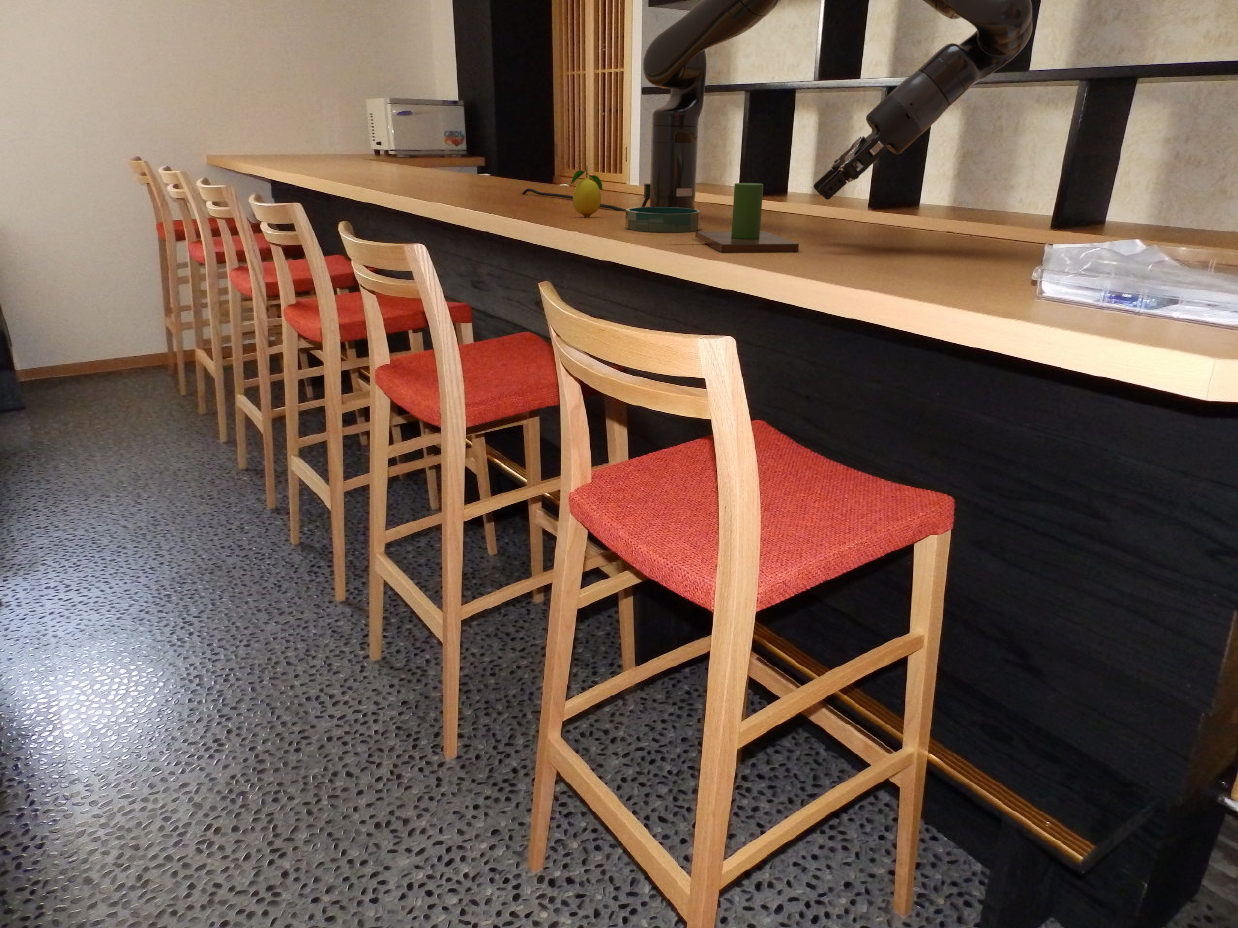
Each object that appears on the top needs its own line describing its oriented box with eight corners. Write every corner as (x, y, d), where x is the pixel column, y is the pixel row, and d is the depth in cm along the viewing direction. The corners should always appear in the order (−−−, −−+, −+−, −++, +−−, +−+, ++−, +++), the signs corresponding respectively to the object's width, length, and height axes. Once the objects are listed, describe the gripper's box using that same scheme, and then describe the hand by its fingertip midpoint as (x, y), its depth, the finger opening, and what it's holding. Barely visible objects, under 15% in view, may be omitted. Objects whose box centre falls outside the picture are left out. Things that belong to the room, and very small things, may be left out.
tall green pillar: (727, 235, 134) (731, 183, 131) (754, 235, 134) (758, 183, 131) (735, 239, 130) (739, 184, 127) (763, 239, 130) (767, 185, 127)
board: (695, 239, 139) (695, 231, 139) (764, 238, 141) (765, 231, 140) (721, 252, 124) (721, 244, 124) (798, 252, 126) (799, 243, 126)
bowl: (620, 226, 154) (620, 207, 153) (689, 226, 156) (690, 207, 155) (632, 235, 143) (633, 213, 141) (707, 234, 145) (708, 213, 143)
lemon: (570, 220, 164) (570, 165, 160) (568, 217, 169) (568, 164, 166) (605, 220, 165) (605, 166, 161) (601, 217, 170) (602, 164, 166)
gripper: (882, 95, 129) (799, 172, 134) (899, 90, 116) (807, 177, 121) (913, 132, 130) (830, 208, 136) (934, 132, 117) (840, 216, 122)
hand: (819, 193), depth 128 cm, fingers open, 8 cm apart
